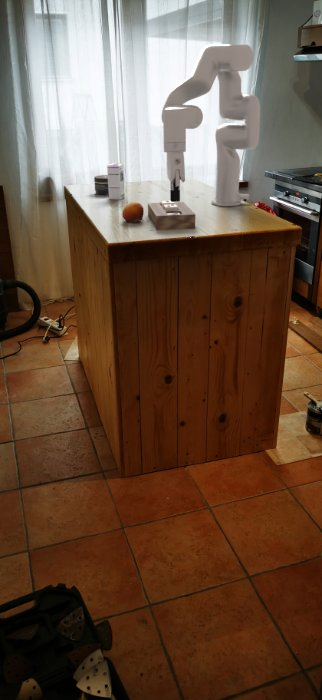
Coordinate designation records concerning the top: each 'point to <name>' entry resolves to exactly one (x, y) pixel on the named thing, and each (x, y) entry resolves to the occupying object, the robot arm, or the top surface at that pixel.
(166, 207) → the button
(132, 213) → the fruit
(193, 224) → the wooden slot board
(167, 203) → the button
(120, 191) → the syrup box
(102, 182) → the jar
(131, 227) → the top surface
